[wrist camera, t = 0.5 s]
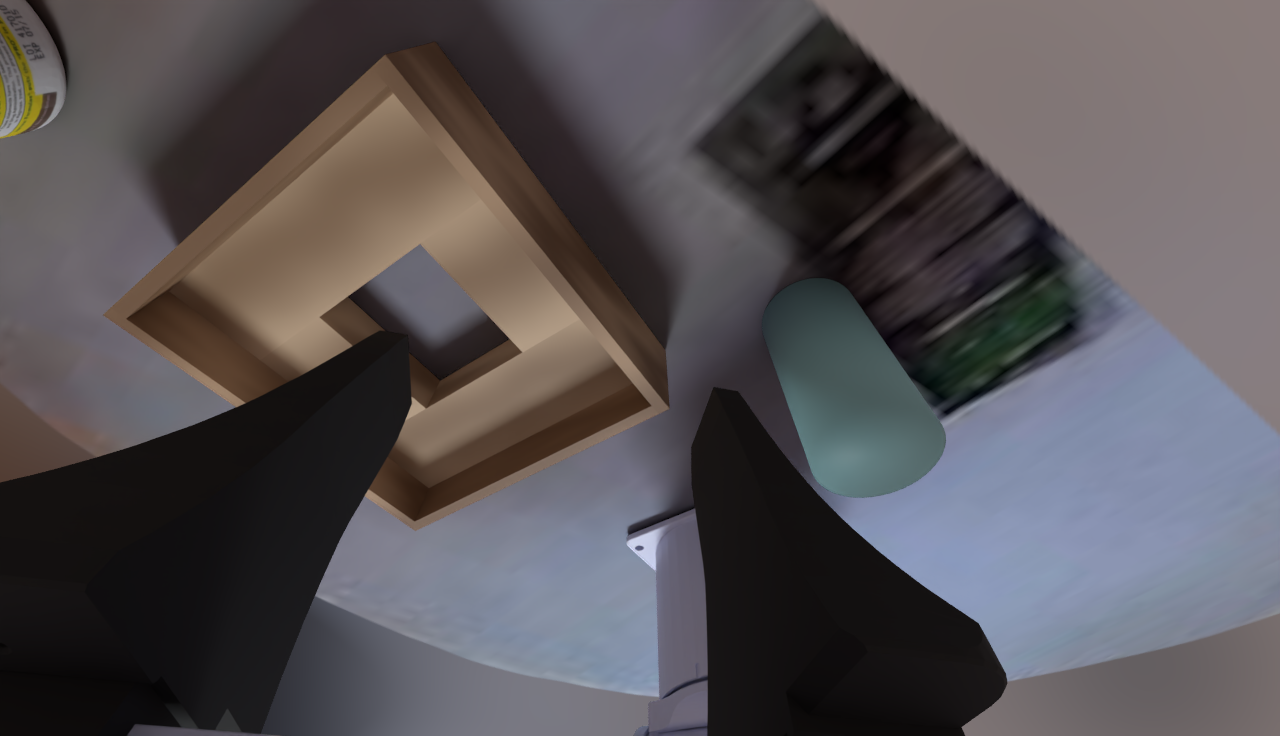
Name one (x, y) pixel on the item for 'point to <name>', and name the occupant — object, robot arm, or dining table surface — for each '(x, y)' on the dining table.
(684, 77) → the dining table surface
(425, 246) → the box
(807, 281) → the peg
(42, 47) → the supplement bottle
